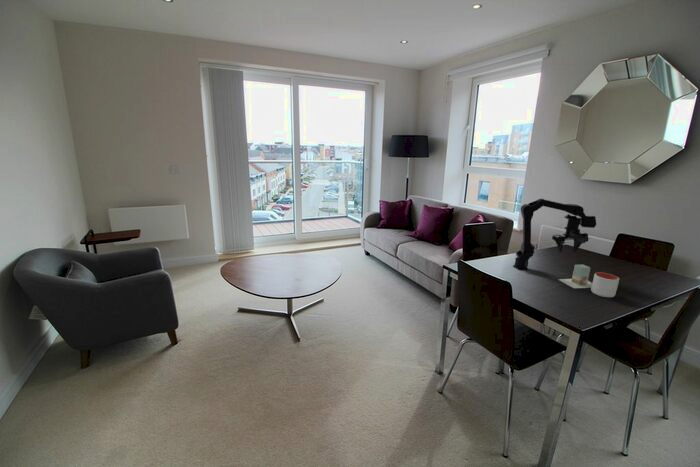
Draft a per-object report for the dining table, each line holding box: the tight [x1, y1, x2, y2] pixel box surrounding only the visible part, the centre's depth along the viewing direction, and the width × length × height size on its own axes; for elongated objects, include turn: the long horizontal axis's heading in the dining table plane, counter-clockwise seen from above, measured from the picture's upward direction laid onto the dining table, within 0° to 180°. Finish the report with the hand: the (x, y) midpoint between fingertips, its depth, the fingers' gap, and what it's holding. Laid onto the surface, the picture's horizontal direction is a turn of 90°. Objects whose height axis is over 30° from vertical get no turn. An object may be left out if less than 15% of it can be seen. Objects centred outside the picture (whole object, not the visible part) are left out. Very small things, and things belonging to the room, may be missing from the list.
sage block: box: [572, 264, 591, 278], centre depth 176 cm, size 5×5×5 cm
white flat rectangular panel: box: [557, 278, 593, 289], centre depth 178 cm, size 16×12×1 cm
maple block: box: [571, 272, 589, 285], centre depth 177 cm, size 5×5×5 cm
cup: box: [590, 272, 620, 298], centre depth 164 cm, size 10×10×10 cm
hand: (567, 252), depth 191 cm, fingers open, 9 cm apart
